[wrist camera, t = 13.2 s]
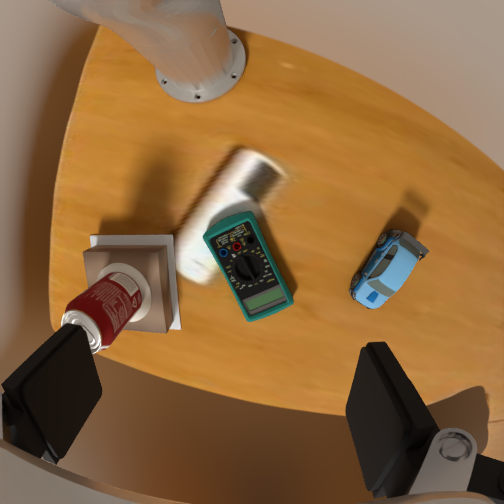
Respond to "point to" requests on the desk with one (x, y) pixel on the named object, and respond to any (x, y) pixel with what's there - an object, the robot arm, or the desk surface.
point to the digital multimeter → (248, 266)
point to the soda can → (105, 309)
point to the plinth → (137, 280)
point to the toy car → (386, 268)
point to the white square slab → (148, 241)
